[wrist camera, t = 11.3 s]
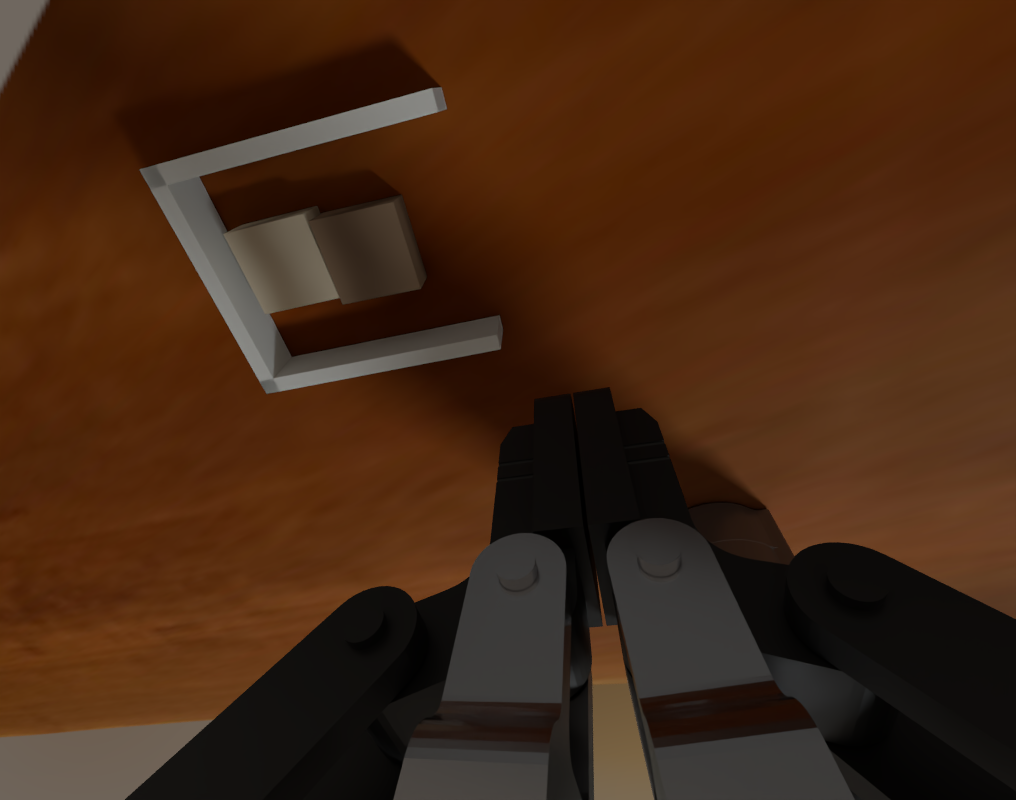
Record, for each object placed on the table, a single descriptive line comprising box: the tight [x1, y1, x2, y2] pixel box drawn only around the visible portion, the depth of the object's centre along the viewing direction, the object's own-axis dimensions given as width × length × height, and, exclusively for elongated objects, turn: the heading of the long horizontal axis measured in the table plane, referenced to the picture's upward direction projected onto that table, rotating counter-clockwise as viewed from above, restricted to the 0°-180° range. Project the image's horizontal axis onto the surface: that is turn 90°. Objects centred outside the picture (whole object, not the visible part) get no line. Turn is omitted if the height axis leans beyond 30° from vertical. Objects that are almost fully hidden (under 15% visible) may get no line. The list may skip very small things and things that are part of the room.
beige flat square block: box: [309, 195, 427, 304], centre depth 30 cm, size 5×5×2 cm
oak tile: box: [223, 206, 340, 314], centre depth 30 cm, size 5×5×2 cm
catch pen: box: [139, 87, 503, 394], centre depth 30 cm, size 16×14×3 cm
